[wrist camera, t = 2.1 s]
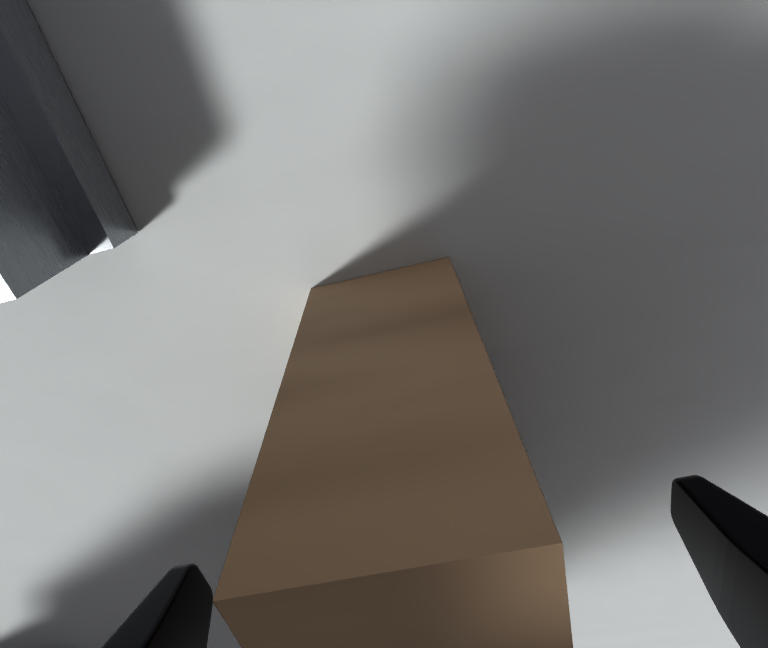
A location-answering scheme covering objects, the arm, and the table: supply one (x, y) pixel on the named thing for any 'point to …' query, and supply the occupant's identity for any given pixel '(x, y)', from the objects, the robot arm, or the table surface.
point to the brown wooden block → (393, 487)
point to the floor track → (47, 166)
